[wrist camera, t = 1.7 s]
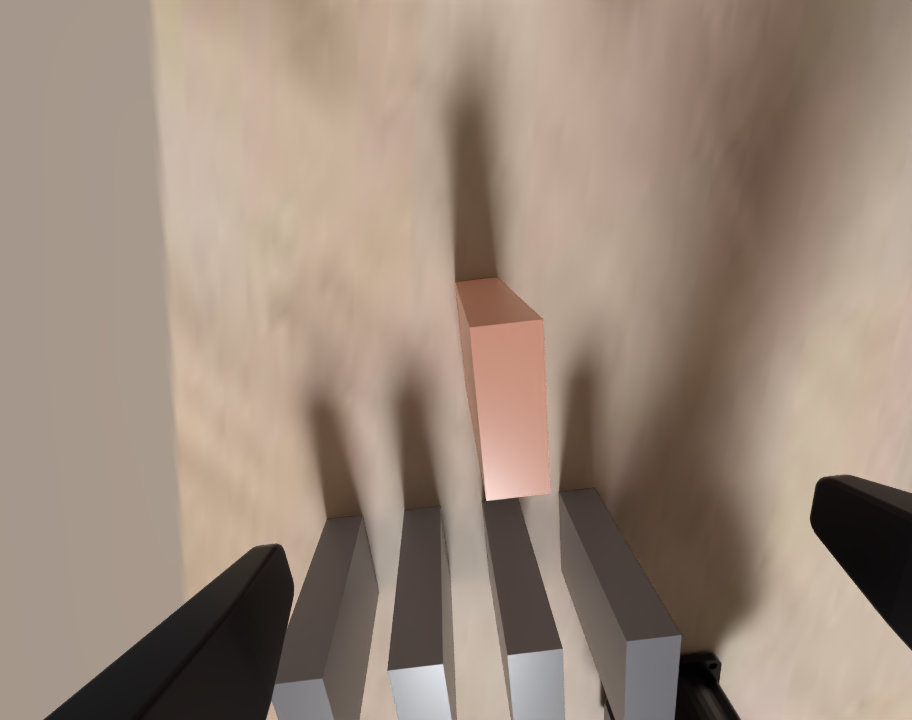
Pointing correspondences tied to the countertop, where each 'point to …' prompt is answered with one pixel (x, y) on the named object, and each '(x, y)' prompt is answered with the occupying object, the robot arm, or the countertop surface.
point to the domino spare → (505, 387)
